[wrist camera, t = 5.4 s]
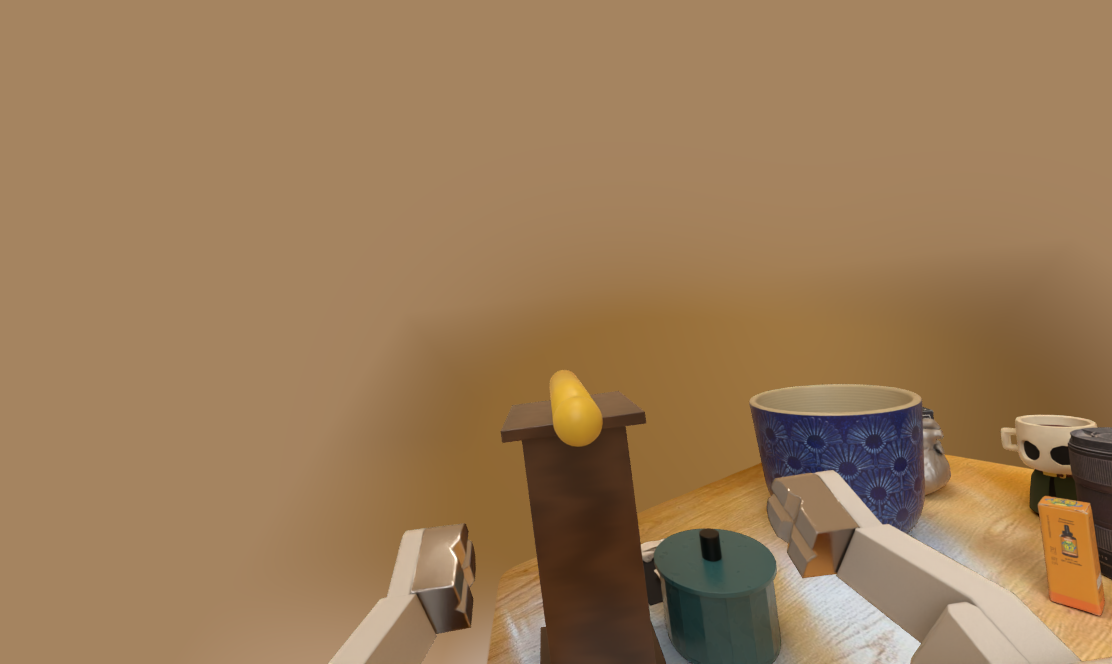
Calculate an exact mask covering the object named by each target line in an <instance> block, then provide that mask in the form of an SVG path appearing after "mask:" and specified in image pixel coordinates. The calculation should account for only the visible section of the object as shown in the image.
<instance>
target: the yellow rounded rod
mask: <svg viewBox="0 0 1112 664" xmlns="http://www.w3.org/2000/svg"><path fill="white" fill-rule="evenodd" d="M550 396H551V406H552V417H553V426H554V430H555V432H556V434H557V435H558V437H559V438H560V439H561V440H562V441H563V442H564V443H566V444H568V445H571V446H575V447H581V446H585V445H588V444H590V443H592V442H593V441H594V440H595V439H596V438H597V437H598V436H599V434H600V432H601V429H602V424H603V419H602V414H601V411H600V409H599V408H598V406H597V405H596V403H595V402H594V400H593V399H592V398H591V396H590V395H589V394H588V392H587V391H586V389H585V388H584V387H583V385H582V384H581V383H580V381H579V380H578V378H577V377H576V375H575V374H574V373H572V372H571V371H568V370H560V371H558V372H556V373H555V374H554V375H553V376H552V377H551V379H550Z"/></svg>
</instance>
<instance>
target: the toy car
mask: <svg viewBox="0 0 1112 664" xmlns="http://www.w3.org/2000/svg"><path fill="white" fill-rule="evenodd" d="M664 539H666V538H664ZM664 539H661V540H660V541H649V542H645V543H643V544H641V551H642V558H643V561H644V562H645V563H649V562H652V561H653V560H654V552H655V549H656V548H657V546H658V545H659V544H660V543H661V542H662V541H663V540H664Z"/></svg>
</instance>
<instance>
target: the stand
mask: <svg viewBox="0 0 1112 664" xmlns="http://www.w3.org/2000/svg"><path fill="white" fill-rule="evenodd" d="M590 396H591V398H592V399H593V400H594V402H595V403H596V405H597V406H598V408H599V409H600V411H601V414H602V419H603V424H602V429H601V432H600V434H599V436H598V437H597V438H596V439H595V440H594V441H593V442H592V443H590V444H588V445H585V446H581V447H575V446H571V445H568V444H566V443H564V442H563V441H562V440H561V439H560V438H559V437H558V435H557V434H556V432H555V430H554V426H553V417H552V406H551V400H549V401H542V402H535V403H527V404H519V405H512V407H511V409H510V412H509V414H508V416H507V419H506V421H505V423H504V425H503V428H502V430H501V437H502V442H503V443H505V442H512V441H519V440H522V444H523V452H524V460H525V468H526V475H527V483H528V490H529V499H530V506H531V514H532V522H533V530H534V537H535V545H536V552H537V561H538V568H539V576H540V584H541V592H542V599H543V607H544V615H545V623H546V627H541V648H540V664H666V661H665V658H664V656H663V653H662V650H661V648H660V645H659V642H658V639H657V637H656V634H655V631H654V629H653V626H652V623H651V620H650V613H649V605H648V597H647V590H646V582H645V574H644V566H643V558H642V551H641V543H640V535H639V527H638V520H637V512H636V504H635V496H634V489H633V481H632V473H631V465H630V458H629V450H628V442H627V434H626V427H625V426H629V425H637V424H644V423H646V418H645V412H644V411H643V410H642V409H640V408H639V407H638V406H637V405H635V404H634V403H633V402H632V401H630V400H629V399H628V398H627V397H625V396H624V395H623V394H622V393H620V392H619V391H617V392H609V393H602V394H594V395H590Z"/></svg>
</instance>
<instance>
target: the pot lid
mask: <svg viewBox="0 0 1112 664" xmlns="http://www.w3.org/2000/svg"><path fill="white" fill-rule="evenodd" d="M654 564H655V567H656V570H657V571H658V573H659V574H660V575H661V577H662V578H663V579H665V580H666V581H667V582H668V583H670V584H671V585H673V586H675V587H677V588H678V589H681V590H683V591H685V592H688V593H691V594H695V595H699V596H704V597H711V598H737V597H743V596H748V595H751V594H754V593H757V592H759V591H761V590H763V589H764V588H766V587H767V586H768V585H770V584H771V583H772V581H773V580H774V578H775V576H776V572H777V568H776V561H775V558H774V556H773V555H772V553H771V552H770V551H769V549H768V548H766V547H765V546H764V545H763V544H761V543H760V542H758V541H757V540H755V539H753V538H751V537H748V536H746V535H743V534H740V533H736V532H732V531H727V530H721V529H693V530H687V531H683V532H679V533H676V534H673V535H671V536H669V537H667V538H666V539H664V540H663V541H662V542H661V543H660V544H659V545H658V546H657V548H656V549H655V552H654Z"/></svg>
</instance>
